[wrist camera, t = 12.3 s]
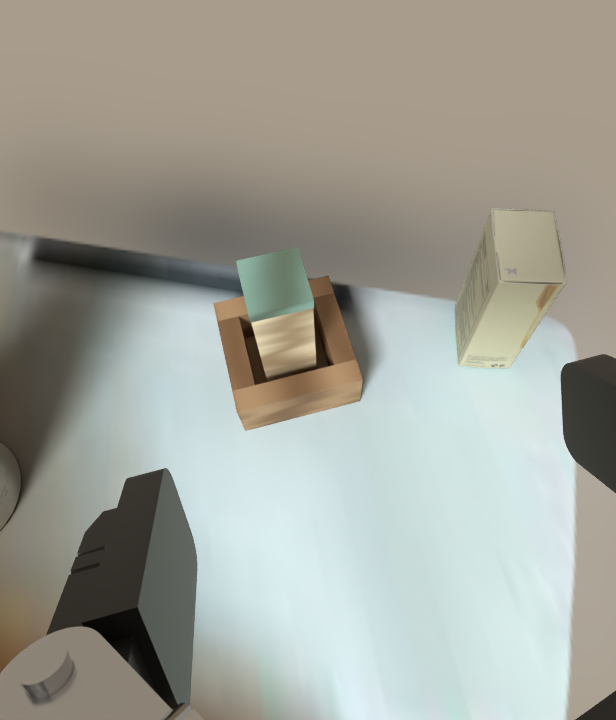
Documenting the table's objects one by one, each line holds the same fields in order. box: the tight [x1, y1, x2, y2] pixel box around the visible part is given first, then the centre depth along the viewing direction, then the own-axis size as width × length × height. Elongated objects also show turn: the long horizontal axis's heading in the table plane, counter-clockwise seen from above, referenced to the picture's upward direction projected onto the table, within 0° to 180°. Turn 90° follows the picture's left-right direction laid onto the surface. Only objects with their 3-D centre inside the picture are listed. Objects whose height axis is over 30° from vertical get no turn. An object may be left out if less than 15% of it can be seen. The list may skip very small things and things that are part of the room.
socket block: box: [213, 276, 363, 431], centre depth 43 cm, size 10×10×4 cm
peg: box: [236, 247, 317, 382], centre depth 39 cm, size 4×4×12 cm
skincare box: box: [455, 208, 566, 368], centre depth 40 cm, size 6×4×12 cm
